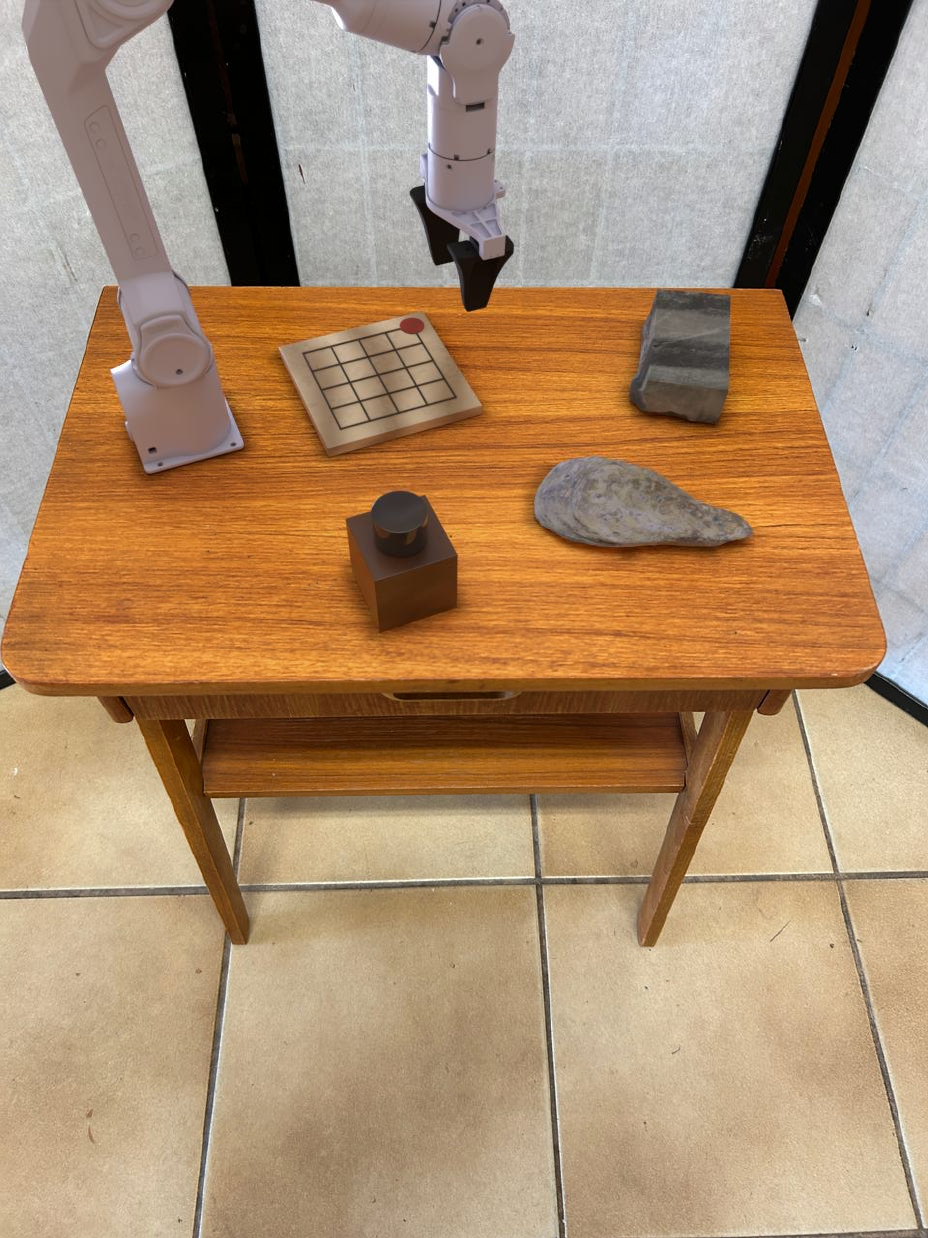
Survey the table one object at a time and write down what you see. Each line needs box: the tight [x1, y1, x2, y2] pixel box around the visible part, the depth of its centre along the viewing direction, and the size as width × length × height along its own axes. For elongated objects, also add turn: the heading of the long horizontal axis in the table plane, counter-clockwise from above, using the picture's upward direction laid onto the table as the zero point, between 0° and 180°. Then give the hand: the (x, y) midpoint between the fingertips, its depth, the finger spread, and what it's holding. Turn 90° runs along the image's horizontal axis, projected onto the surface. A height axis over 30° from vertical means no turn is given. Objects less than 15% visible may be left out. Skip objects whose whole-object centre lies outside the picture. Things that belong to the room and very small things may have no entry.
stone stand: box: [345, 494, 459, 633], centre depth 79 cm, size 7×7×7 cm
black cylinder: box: [370, 490, 428, 557], centre depth 75 cm, size 4×4×3 cm
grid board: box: [278, 310, 483, 458], centre depth 96 cm, size 16×16×1 cm
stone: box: [533, 455, 755, 548], centre depth 86 cm, size 20×4×10 cm
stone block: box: [628, 288, 732, 425], centre depth 97 cm, size 9×14×5 cm, turn 170°
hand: (459, 284), depth 90 cm, fingers open, 7 cm apart
